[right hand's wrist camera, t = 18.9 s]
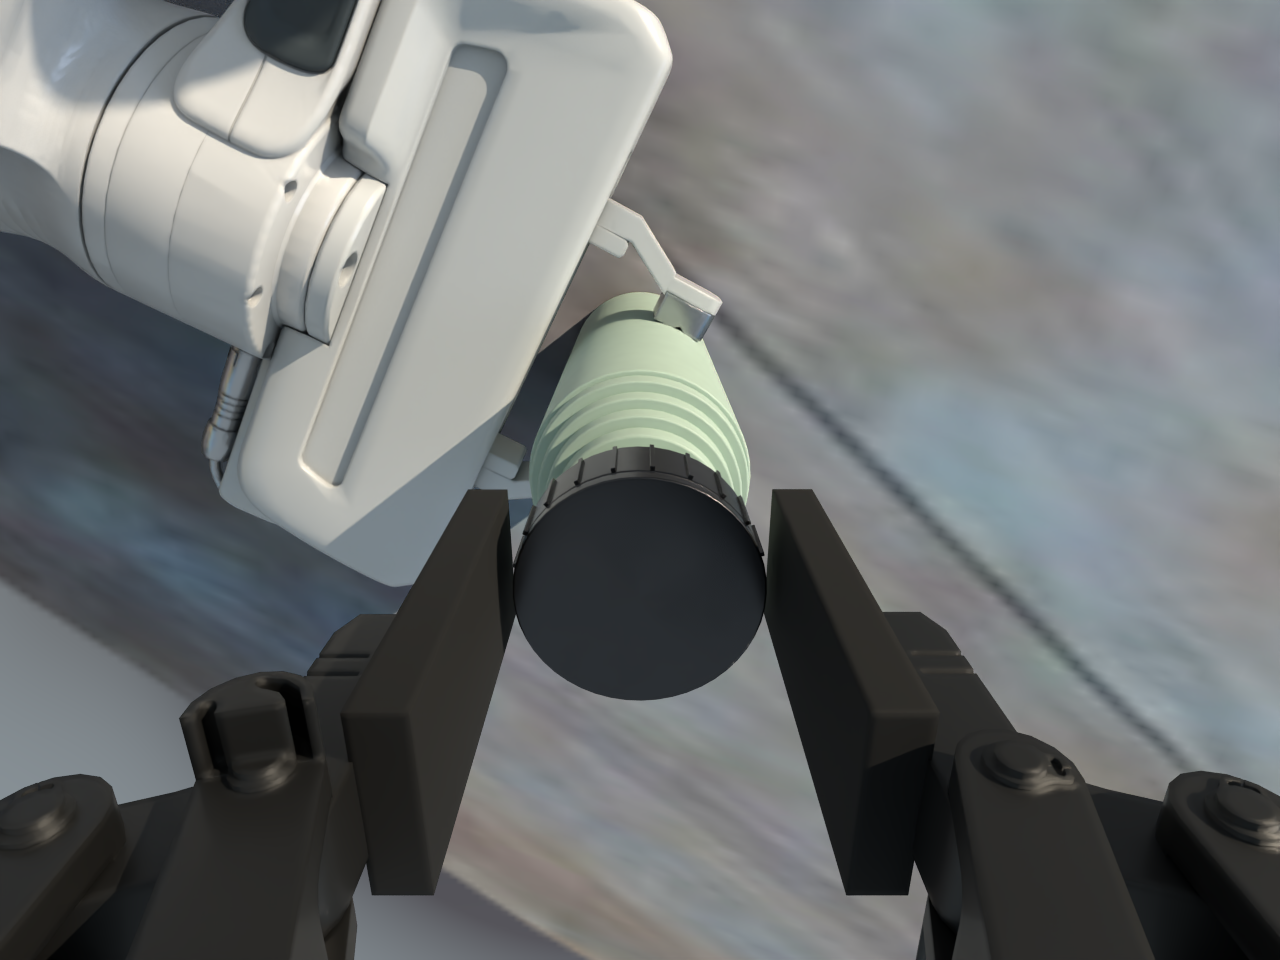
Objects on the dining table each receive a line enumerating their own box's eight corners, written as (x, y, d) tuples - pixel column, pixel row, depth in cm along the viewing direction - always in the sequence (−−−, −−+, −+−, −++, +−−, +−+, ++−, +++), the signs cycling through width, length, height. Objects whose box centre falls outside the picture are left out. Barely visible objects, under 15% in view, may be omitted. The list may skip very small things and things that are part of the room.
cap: (726, 414, 14) (737, 442, 12) (778, 622, 15) (794, 671, 14) (490, 477, 14) (471, 513, 13) (565, 674, 16) (556, 727, 14)
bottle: (549, 371, 32) (434, 604, 14) (625, 264, 30) (604, 373, 12) (652, 443, 33) (667, 744, 15) (730, 344, 32) (850, 549, 14)
